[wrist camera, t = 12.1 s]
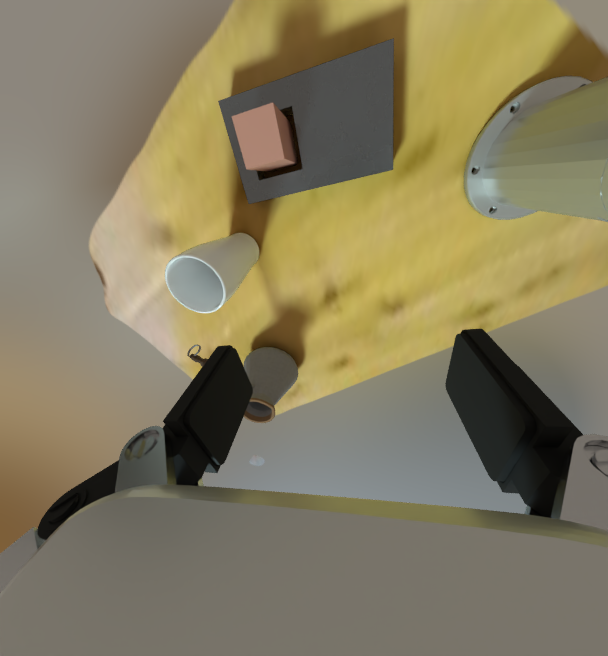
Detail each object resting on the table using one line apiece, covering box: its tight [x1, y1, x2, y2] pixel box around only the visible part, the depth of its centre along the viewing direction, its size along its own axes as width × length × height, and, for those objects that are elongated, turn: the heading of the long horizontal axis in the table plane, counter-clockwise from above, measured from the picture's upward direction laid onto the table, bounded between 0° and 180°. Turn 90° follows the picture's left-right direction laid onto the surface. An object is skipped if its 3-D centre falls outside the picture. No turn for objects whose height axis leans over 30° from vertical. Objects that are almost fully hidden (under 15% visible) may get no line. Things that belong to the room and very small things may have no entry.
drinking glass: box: [165, 233, 259, 313], centre depth 30 cm, size 7×7×15 cm
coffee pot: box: [188, 345, 298, 423], centre depth 40 cm, size 21×12×15 cm, turn 27°
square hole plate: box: [218, 38, 394, 204], centre depth 26 cm, size 18×10×3 cm, turn 102°
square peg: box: [232, 103, 298, 172], centre depth 25 cm, size 4×4×9 cm
